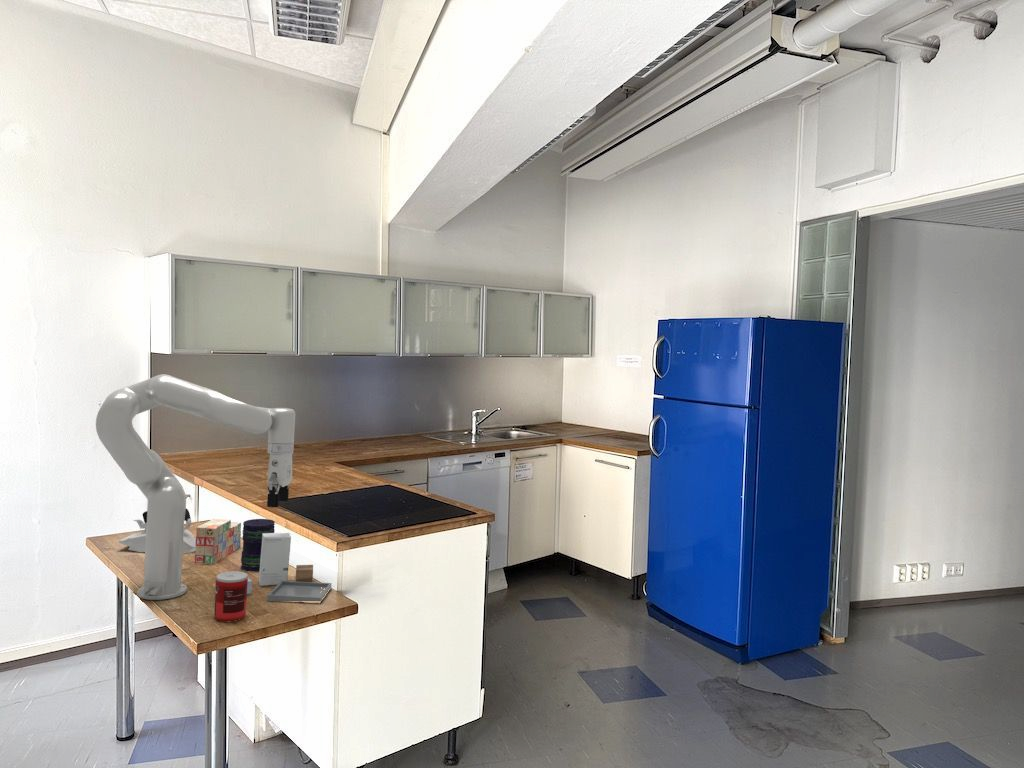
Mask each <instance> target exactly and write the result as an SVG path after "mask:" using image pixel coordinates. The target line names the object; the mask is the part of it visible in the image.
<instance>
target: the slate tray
mask: <svg viewBox="0 0 1024 768" xmlns="http://www.w3.org/2000/svg"><path fill="white" fill-rule="evenodd" d="M332 584H333V583H331V582H318V581H317V582H314V581H313V582H297V581H296V580H295V581H293V580H287V581H281V582H280V583H279V584H278V585H275V587H273V588H272V590H271V591H270V592H269V593H268V594H266V595H267V596H266V597H267V598H266V601H267V602H269V601H321V600H322V598H323V597H324V596H325V594H326V593H327V592H328V590H329V589H331V590H332ZM321 587H322V589H321ZM324 588H325V590H323V589H324ZM321 591H322V592H321ZM320 592H321V593H320Z"/></svg>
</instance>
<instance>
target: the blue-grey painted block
mask: <svg viewBox="0 0 1024 768" xmlns="http://www.w3.org/2000/svg"><path fill="white" fill-rule="evenodd" d="M252 584H253V580H252V579H250V578H249V577H248V584H247V595H252V589H253V585H252Z"/></svg>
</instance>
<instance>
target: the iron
mask: <svg viewBox="0 0 1024 768" xmlns="http://www.w3.org/2000/svg"><path fill="white" fill-rule="evenodd" d="M142 517H143V518H142V519H143V520H142V519H139V518H138V519H133V521H134V522H135V523H137V525H138V526H139V529H140V532H139V533H132V534H130V535H129V536H125V537H123V538H122V539H120V540H118V543H119V544H121V545H125V546H128V547H129V548H128V550H129V551H133V552H139V553H143V552H145V549H146V527H147V510H146V511H144V512H143V513H142ZM184 522H185V524H186V525H185V526H184V535H183V553H184V554H189V553H194V552H195V551H196V536H195V535H194V534H193V533H192V532H191V531H190V530H189V528H190V527H191V525H192V518H191V515H190V511H189V509H188V508H186V510H185V519H184ZM141 529H142V530H141ZM184 554H183V555H184Z"/></svg>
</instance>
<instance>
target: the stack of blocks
mask: <svg viewBox="0 0 1024 768" xmlns="http://www.w3.org/2000/svg"><path fill="white" fill-rule="evenodd" d="M195 533H196V536H195V539H196V551H194V552H195V553H194V564H197V563H207V564H206V565H215V564H216V563H218V562H220V561H221V560H223V559H225V558H226V557H228V556H229V555H231V554H232V553H234V552H235V551H237V550H239V549H240V548H241V540H242V539H241V537H242V522H239V521H237V522H235V521H232V520H231V519H222V518H221V519H220V518H219V519H218V518H212V519H210V520H209V521H207V522H205V523H203V524H201V525H199V526H196V532H195ZM239 547H240V548H239ZM238 548H239V549H238ZM233 551H234V552H233ZM231 552H232V553H231ZM230 553H231V554H230ZM228 554H229V555H228ZM227 555H228V556H227ZM225 556H226V557H225ZM224 557H225V558H224ZM222 558H223V559H222ZM220 559H221V560H220ZM219 560H220V561H219ZM217 561H218V562H217ZM215 562H216V563H215ZM214 563H215V564H214Z"/></svg>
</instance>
